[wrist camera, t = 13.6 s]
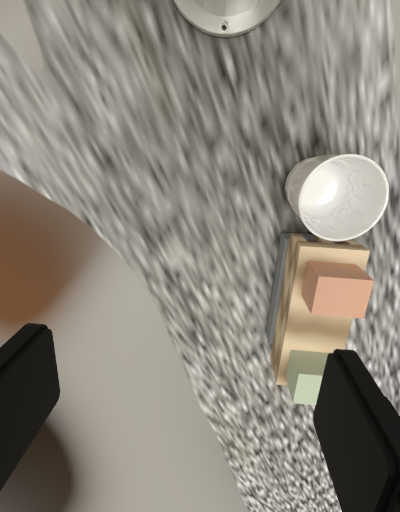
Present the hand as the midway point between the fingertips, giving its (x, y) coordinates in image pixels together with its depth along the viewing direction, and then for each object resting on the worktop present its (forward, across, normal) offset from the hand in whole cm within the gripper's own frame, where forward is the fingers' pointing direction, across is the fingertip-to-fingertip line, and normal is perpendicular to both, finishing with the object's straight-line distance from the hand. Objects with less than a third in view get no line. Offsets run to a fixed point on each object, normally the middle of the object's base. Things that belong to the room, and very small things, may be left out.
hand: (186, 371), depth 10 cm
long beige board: (+27, -13, +11) cm, 32 cm away
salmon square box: (+22, -13, +6) cm, 26 cm away
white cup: (+31, -12, -3) cm, 33 cm away
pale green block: (+22, -13, +17) cm, 31 cm away
